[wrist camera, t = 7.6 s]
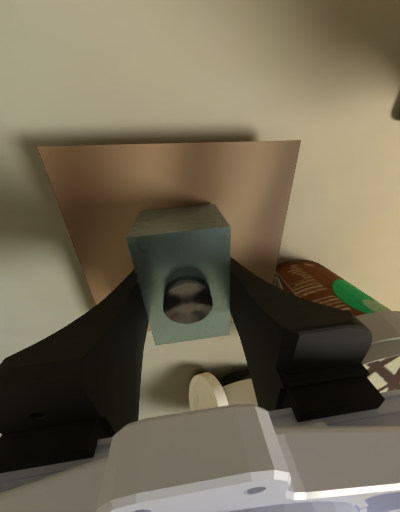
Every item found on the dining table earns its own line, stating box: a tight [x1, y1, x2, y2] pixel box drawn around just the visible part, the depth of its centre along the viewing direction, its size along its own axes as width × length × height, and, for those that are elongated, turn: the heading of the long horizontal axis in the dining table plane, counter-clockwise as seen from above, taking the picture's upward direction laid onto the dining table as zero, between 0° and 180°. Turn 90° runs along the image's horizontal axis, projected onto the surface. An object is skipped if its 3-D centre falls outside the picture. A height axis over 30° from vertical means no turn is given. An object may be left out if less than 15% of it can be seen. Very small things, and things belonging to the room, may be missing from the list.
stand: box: [37, 140, 301, 331], centre depth 15 cm, size 14×14×2 cm
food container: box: [275, 260, 400, 393], centre depth 16 cm, size 12×6×10 cm, turn 28°
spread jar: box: [189, 371, 258, 411], centre depth 22 cm, size 12×11×12 cm
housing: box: [126, 204, 231, 345], centre depth 11 cm, size 7×4×5 cm, turn 4°
